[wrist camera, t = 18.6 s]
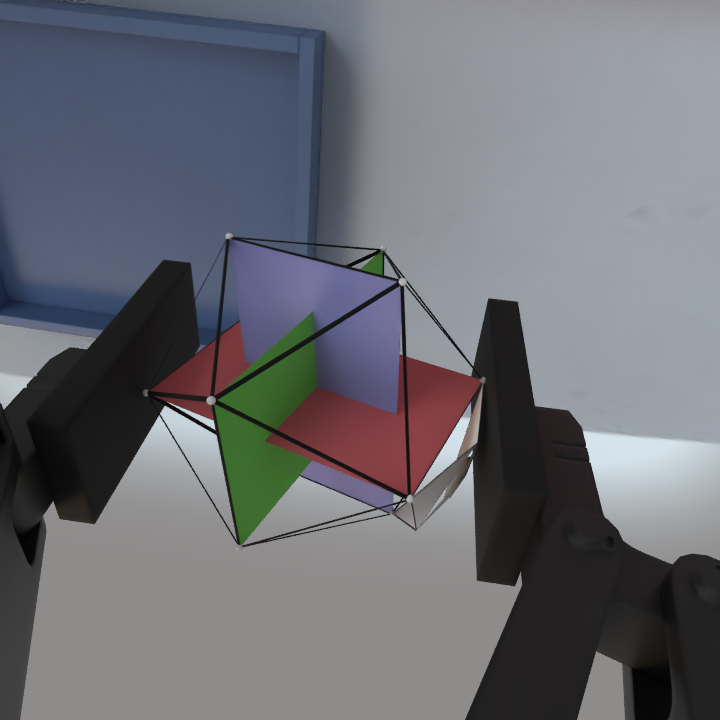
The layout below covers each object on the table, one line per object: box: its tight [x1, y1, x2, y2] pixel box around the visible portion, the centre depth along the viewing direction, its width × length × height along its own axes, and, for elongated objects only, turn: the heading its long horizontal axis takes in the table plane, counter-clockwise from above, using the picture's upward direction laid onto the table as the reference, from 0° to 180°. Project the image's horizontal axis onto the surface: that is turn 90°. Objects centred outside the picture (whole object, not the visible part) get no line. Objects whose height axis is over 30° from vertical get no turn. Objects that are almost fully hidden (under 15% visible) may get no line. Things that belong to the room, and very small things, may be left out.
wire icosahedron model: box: [143, 233, 486, 551], centre depth 14 cm, size 7×7×8 cm
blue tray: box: [0, 0, 325, 353], centre depth 28 cm, size 17×15×2 cm
